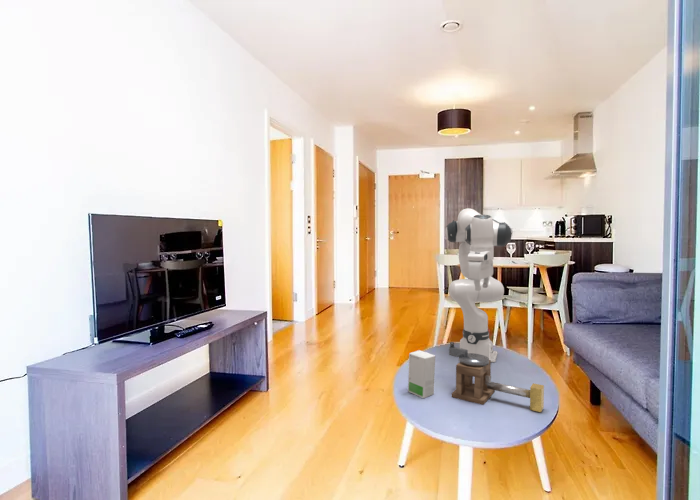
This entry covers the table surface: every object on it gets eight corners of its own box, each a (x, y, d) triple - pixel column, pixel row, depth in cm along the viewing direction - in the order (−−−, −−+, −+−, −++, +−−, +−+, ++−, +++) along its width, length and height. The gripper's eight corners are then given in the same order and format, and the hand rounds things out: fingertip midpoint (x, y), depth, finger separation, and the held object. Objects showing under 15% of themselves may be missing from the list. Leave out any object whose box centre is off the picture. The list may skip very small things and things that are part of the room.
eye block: (464, 385, 164) (464, 354, 163) (494, 391, 157) (495, 360, 156) (451, 397, 152) (451, 364, 152) (483, 405, 146) (483, 371, 145)
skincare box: (407, 392, 158) (407, 352, 157) (418, 387, 162) (418, 349, 161) (424, 399, 151) (424, 358, 150) (435, 394, 155) (435, 354, 154)
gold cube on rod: (487, 394, 154) (487, 374, 153) (543, 407, 142) (544, 385, 142) (483, 398, 150) (484, 377, 150) (541, 412, 139) (541, 389, 138)
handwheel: (493, 361, 154) (494, 347, 154) (480, 368, 146) (480, 353, 146) (457, 352, 165) (457, 339, 165) (442, 359, 157) (442, 345, 157)
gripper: (482, 253, 172) (482, 285, 173) (465, 256, 156) (465, 291, 156) (497, 253, 169) (497, 286, 169) (482, 256, 152) (481, 293, 153)
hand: (481, 289), depth 163 cm, fingers open, 8 cm apart
